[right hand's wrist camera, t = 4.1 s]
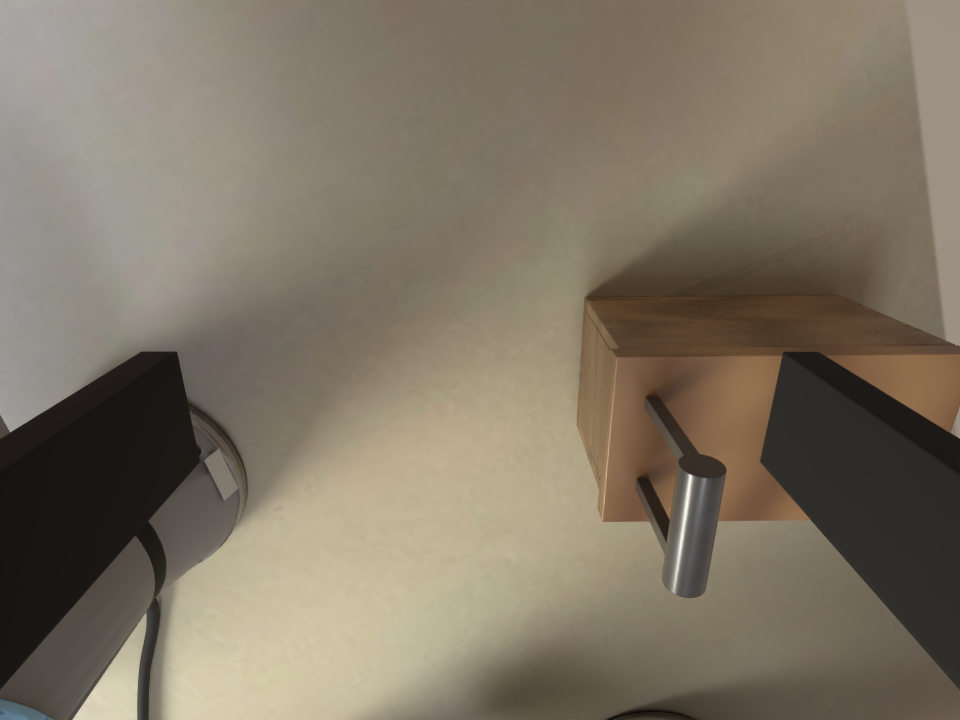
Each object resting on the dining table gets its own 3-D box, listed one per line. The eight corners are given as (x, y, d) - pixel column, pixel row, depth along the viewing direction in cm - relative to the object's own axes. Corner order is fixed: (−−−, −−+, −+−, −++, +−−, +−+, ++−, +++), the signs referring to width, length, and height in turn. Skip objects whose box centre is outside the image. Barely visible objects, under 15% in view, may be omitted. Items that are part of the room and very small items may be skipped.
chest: (576, 425, 42) (605, 507, 32) (584, 297, 38) (619, 347, 29) (808, 423, 42) (905, 505, 32) (838, 294, 38) (956, 344, 29)
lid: (597, 508, 32) (638, 635, 24) (610, 347, 29) (664, 431, 20) (905, 506, 32) (1053, 631, 24) (957, 345, 29) (1153, 427, 20)
